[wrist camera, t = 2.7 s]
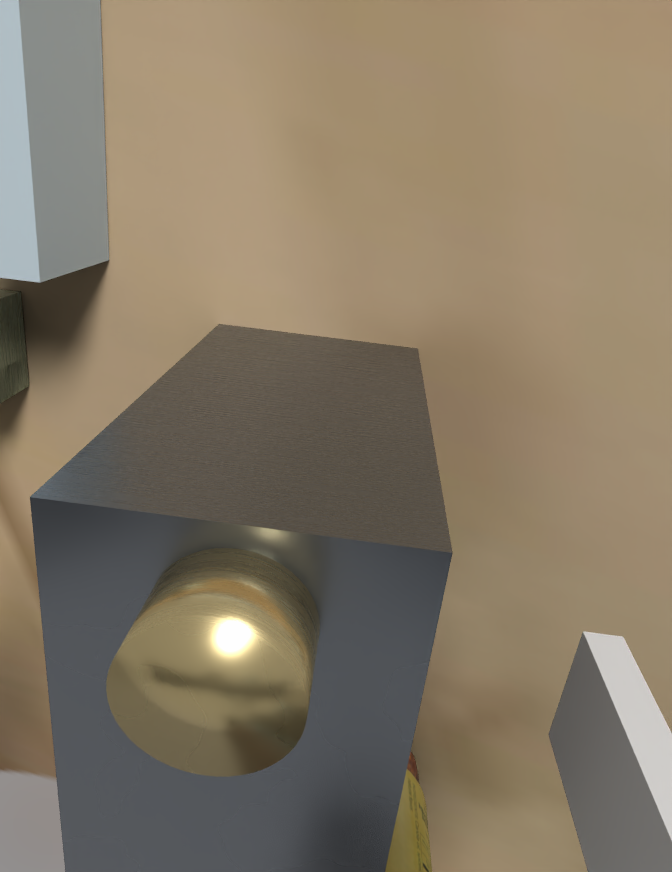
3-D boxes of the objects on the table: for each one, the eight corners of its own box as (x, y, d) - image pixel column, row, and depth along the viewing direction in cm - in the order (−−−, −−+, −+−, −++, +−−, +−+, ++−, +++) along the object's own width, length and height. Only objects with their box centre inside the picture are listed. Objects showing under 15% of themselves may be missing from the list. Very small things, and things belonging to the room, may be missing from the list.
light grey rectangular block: (109, 260, 19) (39, 282, 15) (28, 250, 19) (-60, 270, 15) (99, -28, 16) (11, -88, 12) (5, -38, 16) (-111, -101, 12)
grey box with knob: (378, 594, 22) (368, 1047, 11) (210, 572, 23) (24, 994, 11) (417, 348, 19) (465, 629, 7) (219, 324, 19) (-40, 560, 8)
